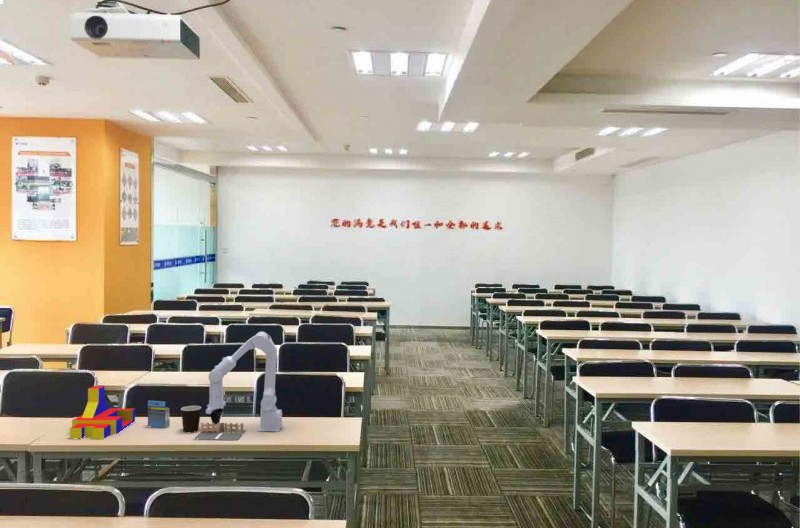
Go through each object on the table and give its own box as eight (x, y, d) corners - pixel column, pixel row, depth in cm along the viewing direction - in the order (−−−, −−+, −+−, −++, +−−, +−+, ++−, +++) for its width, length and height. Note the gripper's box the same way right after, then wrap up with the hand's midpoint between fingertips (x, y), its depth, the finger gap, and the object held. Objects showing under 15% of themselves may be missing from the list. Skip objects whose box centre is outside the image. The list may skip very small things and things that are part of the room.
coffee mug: (196, 433, 254) (197, 411, 254) (177, 433, 254) (177, 410, 254) (206, 425, 266) (206, 404, 265) (187, 425, 266) (187, 403, 266)
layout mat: (246, 430, 259) (246, 429, 259) (237, 440, 245) (237, 439, 245) (204, 429, 259) (204, 429, 259) (192, 439, 245) (192, 439, 245)
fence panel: (219, 431, 255) (219, 422, 255) (219, 432, 254) (219, 423, 254) (201, 431, 255) (201, 422, 255) (200, 432, 254) (200, 423, 254)
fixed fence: (243, 432, 256) (243, 422, 256) (242, 434, 254) (242, 423, 254) (220, 432, 256) (220, 422, 256) (219, 433, 254) (219, 423, 254)
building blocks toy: (64, 439, 244) (64, 396, 244) (94, 422, 269) (94, 383, 269) (109, 439, 245) (109, 397, 244) (135, 422, 270) (135, 383, 269)
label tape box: (169, 425, 264) (170, 399, 264) (165, 428, 260) (165, 401, 260) (152, 424, 266) (152, 398, 265) (147, 427, 262) (147, 400, 261)
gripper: (215, 391, 267) (215, 420, 267) (199, 399, 253) (199, 429, 253) (229, 392, 266) (229, 421, 266) (214, 399, 251) (214, 430, 252)
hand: (215, 425), depth 259 cm, fingers closed
